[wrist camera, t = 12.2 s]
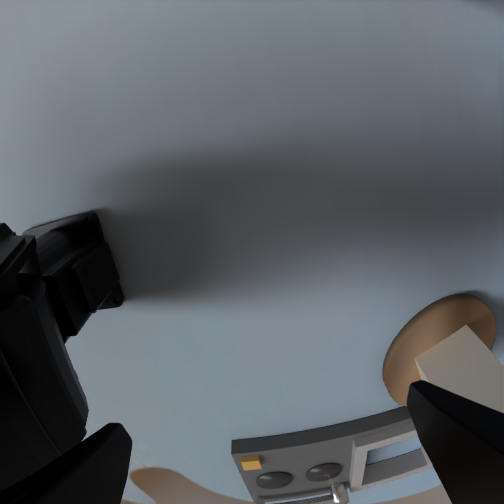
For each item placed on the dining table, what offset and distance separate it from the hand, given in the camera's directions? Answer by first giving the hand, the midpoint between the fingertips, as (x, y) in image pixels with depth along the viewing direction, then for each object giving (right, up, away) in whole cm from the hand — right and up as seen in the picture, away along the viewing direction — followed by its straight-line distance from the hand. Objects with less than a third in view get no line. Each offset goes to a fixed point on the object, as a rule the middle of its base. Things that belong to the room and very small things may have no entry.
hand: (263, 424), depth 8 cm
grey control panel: (+9, -16, +19) cm, 26 cm away
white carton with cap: (+15, -4, +13) cm, 21 cm away
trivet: (+15, -3, +14) cm, 21 cm away
